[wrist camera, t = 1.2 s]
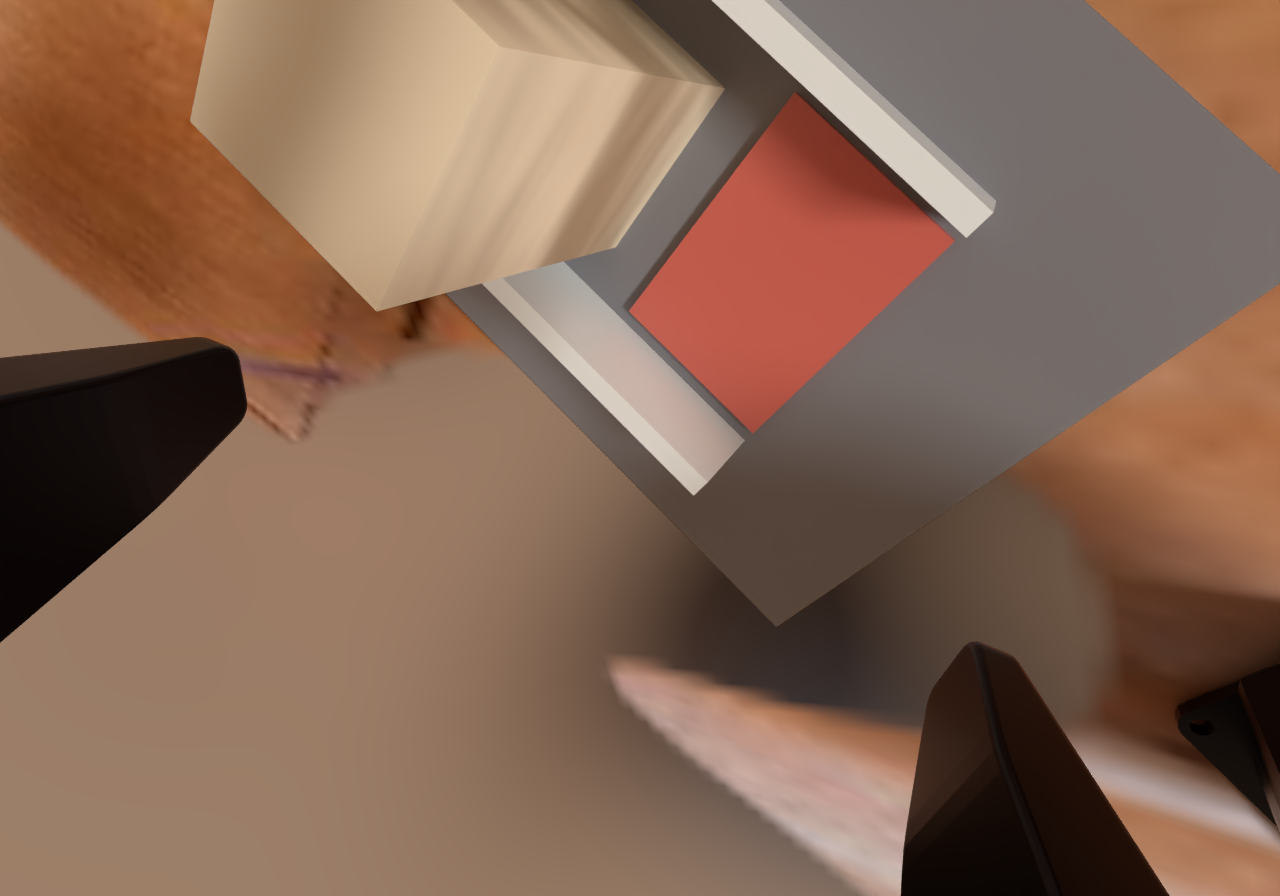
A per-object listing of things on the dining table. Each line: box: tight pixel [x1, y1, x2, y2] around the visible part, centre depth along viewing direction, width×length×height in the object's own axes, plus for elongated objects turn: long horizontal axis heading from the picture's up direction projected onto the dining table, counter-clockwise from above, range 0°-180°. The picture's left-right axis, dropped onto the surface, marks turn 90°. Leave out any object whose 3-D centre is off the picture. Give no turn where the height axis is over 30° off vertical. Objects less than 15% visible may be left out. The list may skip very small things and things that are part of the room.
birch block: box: [190, 0, 725, 312], centre depth 15 cm, size 5×5×9 cm
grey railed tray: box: [445, 0, 1280, 627], centre depth 17 cm, size 26×16×4 cm, turn 51°
